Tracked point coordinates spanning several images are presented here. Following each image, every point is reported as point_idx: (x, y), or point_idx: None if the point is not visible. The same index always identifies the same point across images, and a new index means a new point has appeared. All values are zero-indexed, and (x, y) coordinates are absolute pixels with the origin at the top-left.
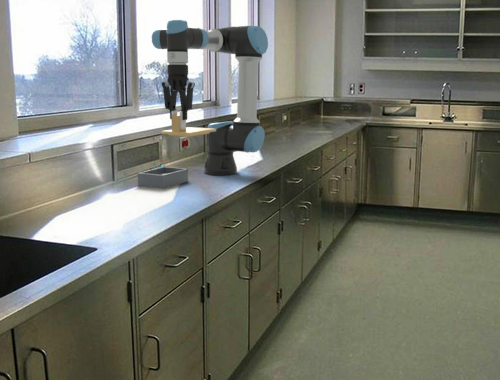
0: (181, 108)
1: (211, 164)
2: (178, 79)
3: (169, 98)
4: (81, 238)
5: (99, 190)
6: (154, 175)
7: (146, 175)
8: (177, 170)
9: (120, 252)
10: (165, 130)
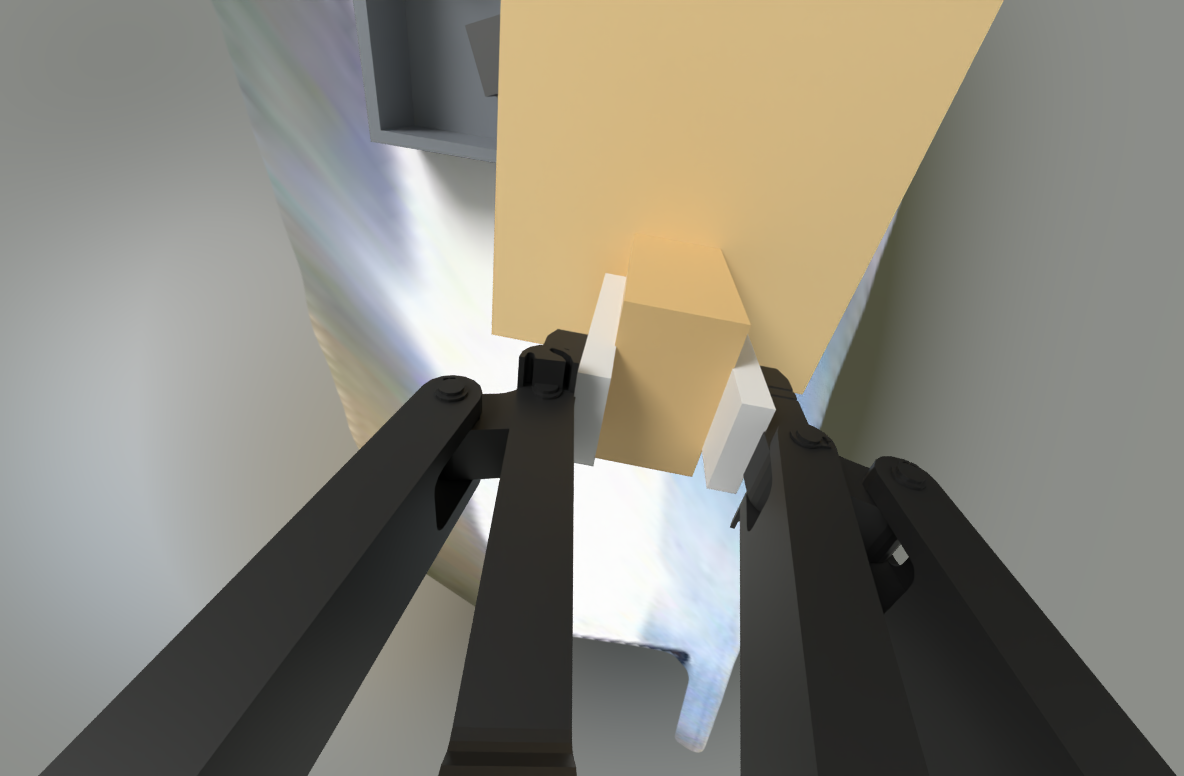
0: (741, 523)
1: None
2: None
3: (395, 552)
4: (631, 624)
5: (317, 247)
6: (486, 160)
7: (435, 151)
8: None
9: (731, 661)
10: (502, 279)
